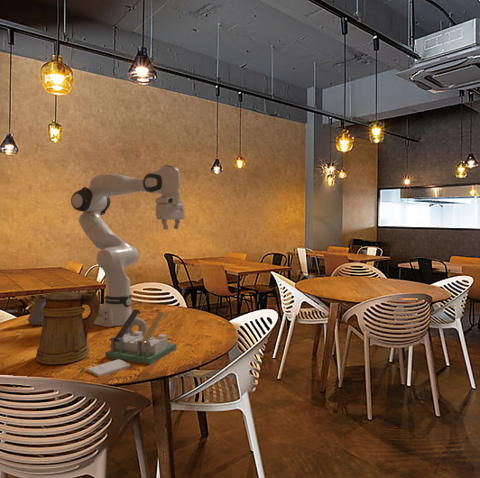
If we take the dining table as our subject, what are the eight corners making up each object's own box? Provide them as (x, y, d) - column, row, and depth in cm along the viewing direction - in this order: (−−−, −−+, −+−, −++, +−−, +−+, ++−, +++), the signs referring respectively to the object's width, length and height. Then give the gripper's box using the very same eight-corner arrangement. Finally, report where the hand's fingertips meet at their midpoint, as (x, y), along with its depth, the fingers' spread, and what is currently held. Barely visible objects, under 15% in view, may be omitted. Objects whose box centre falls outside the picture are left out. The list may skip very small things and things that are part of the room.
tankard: (31, 355, 159) (29, 292, 157) (92, 344, 173) (91, 285, 171) (41, 369, 144) (40, 299, 143) (107, 356, 159) (106, 292, 157)
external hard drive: (130, 368, 147) (98, 378, 138) (118, 363, 153) (86, 372, 144) (130, 364, 147) (98, 373, 138) (118, 358, 153) (86, 367, 143)
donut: (124, 342, 176) (124, 319, 175) (123, 340, 179) (122, 317, 178) (147, 339, 180) (147, 317, 180) (145, 337, 183) (145, 315, 183)
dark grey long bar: (115, 343, 158) (113, 339, 157) (135, 312, 169) (133, 308, 168) (120, 343, 157) (118, 340, 156) (140, 312, 169) (138, 309, 167)
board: (105, 357, 157) (105, 338, 157) (135, 343, 175) (135, 325, 174) (149, 364, 150) (149, 344, 149) (176, 348, 167) (176, 330, 167)
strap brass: (141, 346, 153) (139, 343, 152) (160, 314, 165) (158, 311, 164) (146, 347, 152) (144, 344, 151) (165, 315, 164) (163, 311, 163)
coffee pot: (30, 328, 197) (29, 297, 196) (26, 323, 206) (25, 293, 206) (76, 321, 210) (75, 292, 209) (70, 317, 219) (70, 289, 218)
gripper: (176, 200, 204) (176, 228, 205) (153, 199, 185) (153, 229, 186) (187, 200, 202) (187, 228, 203) (165, 199, 183) (165, 230, 184)
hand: (171, 229), depth 194 cm, fingers open, 8 cm apart
